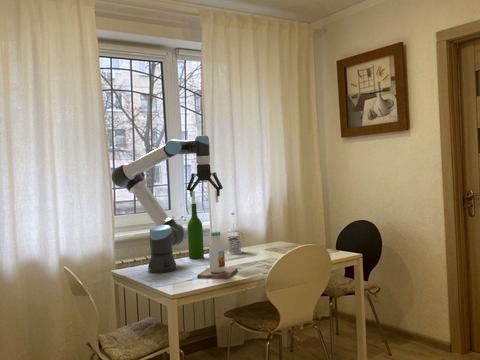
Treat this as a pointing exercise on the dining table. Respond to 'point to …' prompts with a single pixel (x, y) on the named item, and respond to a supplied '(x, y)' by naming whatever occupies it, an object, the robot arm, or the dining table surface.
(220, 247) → the milk bottle
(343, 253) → the dining table surface
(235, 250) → the french press
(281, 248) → the dining table surface
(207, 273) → the walnut board
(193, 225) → the wine bottle
